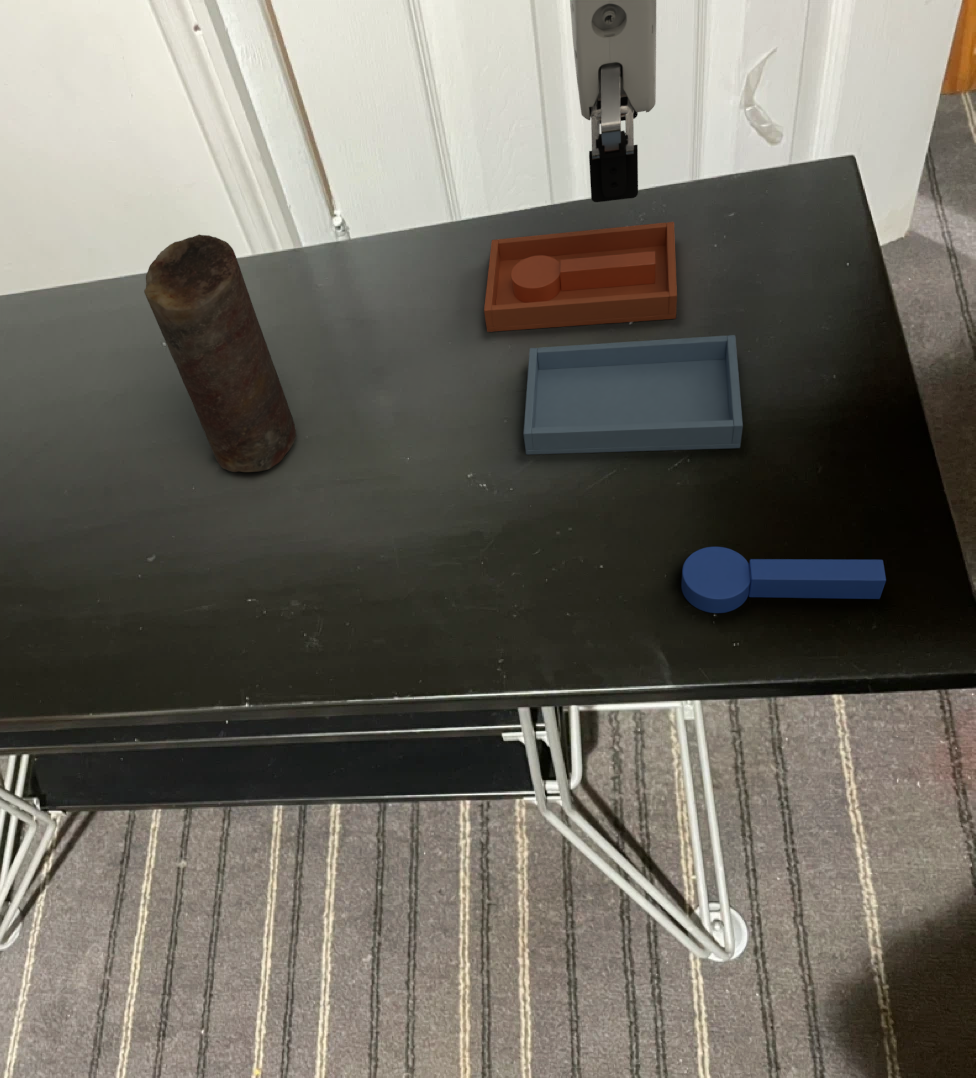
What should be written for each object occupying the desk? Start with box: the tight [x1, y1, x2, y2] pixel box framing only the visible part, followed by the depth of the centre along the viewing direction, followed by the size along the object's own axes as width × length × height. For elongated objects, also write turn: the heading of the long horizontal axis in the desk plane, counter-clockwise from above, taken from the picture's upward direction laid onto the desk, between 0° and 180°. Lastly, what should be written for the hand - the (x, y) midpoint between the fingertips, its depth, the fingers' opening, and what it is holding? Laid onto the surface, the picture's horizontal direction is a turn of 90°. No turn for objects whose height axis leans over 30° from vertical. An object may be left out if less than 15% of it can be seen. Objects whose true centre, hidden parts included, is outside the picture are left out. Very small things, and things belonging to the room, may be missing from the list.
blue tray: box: [523, 334, 744, 456], centre depth 80 cm, size 15×9×2 cm, turn 78°
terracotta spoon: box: [511, 251, 656, 303], centre depth 88 cm, size 12×4×2 cm, turn 78°
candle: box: [143, 233, 297, 473], centre depth 82 cm, size 8×7×20 cm
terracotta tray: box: [483, 221, 678, 333], centre depth 89 cm, size 15×9×2 cm, turn 78°
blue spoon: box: [680, 546, 887, 614], centre depth 68 cm, size 12×4×2 cm, turn 78°
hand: (615, 157), depth 78 cm, fingers open, 9 cm apart
